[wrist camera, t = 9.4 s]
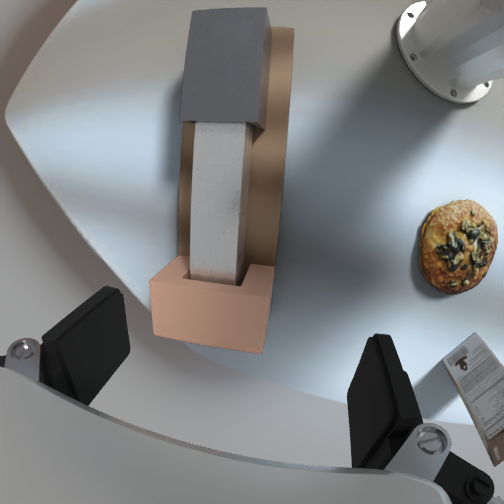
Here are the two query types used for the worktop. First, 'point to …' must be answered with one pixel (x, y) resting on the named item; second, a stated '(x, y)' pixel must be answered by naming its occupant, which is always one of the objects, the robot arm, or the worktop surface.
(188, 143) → the base board
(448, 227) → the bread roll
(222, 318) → the socket block
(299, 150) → the worktop surface
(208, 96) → the sleeve
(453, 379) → the coffee box
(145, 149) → the worktop surface
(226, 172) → the light grey bar
